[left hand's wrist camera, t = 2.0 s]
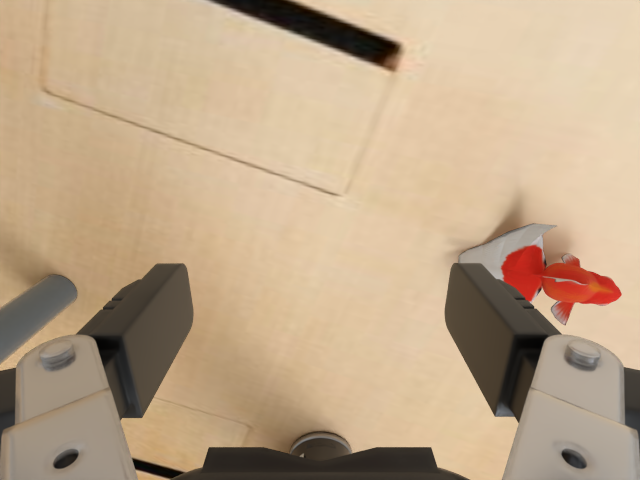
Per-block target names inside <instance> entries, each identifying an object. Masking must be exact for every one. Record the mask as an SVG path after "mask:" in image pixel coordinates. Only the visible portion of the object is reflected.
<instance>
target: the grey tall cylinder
mask: <svg viewBox="0 0 640 480" xmlns="http://www.w3.org/2000/svg"><path fill="white" fill-rule="evenodd" d="M76 298H77V290H76V288H75V286H74V284H73V283H72V282H71V281H70V280H68V279H67V278H65V277H63V276H60V275H49V276H46V277H45V278H43V279H42V280H40V281H39V282H37V283H36V284H34V285H33V286H31V287H30V288H28V289H27V290H25V291H24V292H23V293H21V294H20V295H18V296H17V297H15V298H14V299H12V300H11V301H9V302H8V303H6V304H5V305H3V306H2V307H0V364H2V363H3V362H4V361H5V360H6V359H8V358H9V357H10V356H11V355H12V354H13V353H15V352H16V351H17V350H18V349H19V348H20V347H22V346H23V345H24V344H25V343H26V342H28V341H29V340H30V339H31V338H32V337H33V336H35V335H36V334H37V333H38V332H39V331H40V330H42V329H43V328H44V327H45V326H46V325H47V324H49V323H50V322H51V321H52V320H53V319H55V318H56V317H57V316H58V315H59V314H60V313H62V312H63V311H64V310H65V309H66V308H67V307H69V306H70V305H71V304H72V303H73V302H74V301H75V300H76Z"/></svg>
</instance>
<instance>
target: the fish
mask: <svg viewBox="0 0 640 480" xmlns="http://www.w3.org/2000/svg"><path fill="white" fill-rule="evenodd" d="M553 227H556V226H555V225H544V224H530V225H527V226H524V227H521V228H518V229H515V230H512V231H509V232H507V233H505V234H503V235H501V236H499V237H497V238H495V239H493V240H491V241H489V242H487V243H486V244H484V245H481V246H477V247H474V248H472V249H469V250H467V251H465V252H463V253H462V254H460V255H459V259H458V263H481V264H482V265H483V266H484V267H485V268H486V269H487V270H488V271H489V272H490V273H491V274H492V275H493V276H494V277H495V278H496V279H500V280H502V281H504V282H506V283H508V284H509V285H511V286H513V287H515V288H516V289H517V290H518V291H519V292H520V293H521V294H522V295H523V296H524V297H525V299H526V300H528V301H529V302H530V303H532V302H533V300H534V299H535V298H536V296H537V295H538V293H539V292H540V291H541V289H542V287H543V290H544V292H545V293H546V294H547V295H548V296H549V297H551V298H553V299H555V300H557V301H558V302H556V303H555V304H554V305H553V306H552V307H551V311H552V313H553V315H554V316H555V318H556V319H557V320H558V321H559V322H561V323H562V324H564V325H566V322H567V321H568V318H569V315H570V313H571V310H572V307H573V305H574V303H575V302H579V303H582V304H589V303H592V304H597V305H600V306H605V305H608V304H609V303H611V302H613V301H616V300H617V299H618V298H619V297H620V296H621V295H622V294H621V292H620V289H619V288H618V287H617V286H616V285H615V283H614V282H613V280H612V279H611V278H609V277H607V276H600V275H598V274H596V273H594V272H590V271H586V270H584V269H583V268H580V261H579V259H578V258H576V257H574V256H573V255H571V254H565V255H564V256H562V260H563V262H564V263H555V264H552V265H550V266H548V267H547V268H546V269H545V267H546V260H545V256H544V252H543V237H542V235H543V234H544V233H545V232H547V231H548V230H550V229H552V228H553Z"/></svg>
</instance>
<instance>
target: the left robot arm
mask: <svg viewBox="0 0 640 480" xmlns="http://www.w3.org/2000/svg"><path fill="white" fill-rule="evenodd" d="M445 321H446V326H447V328H448V330H449V332H450V334H451V336H452V338H453V340H454V342H455V343H456V345H457V347H458V349H459V351H460V353H461V354H462V356H463V358H464V360H465V362H466V364H467V366H468V367H469V369H470V371H471V373H472V375H473V377H474V378H475V380H476V382H477V384H478V386H479V388H480V390H481V391H482V393H483V395H484V397H485V399H486V401H487V403H488V404H489V406H490V408H491V410H492V412H493V414H494V415H495V417H515V418H516V419H517V421H518V423H519V425H518V428H517V431H516V435H515V438H514V441H513V445H512V448H511V451H510V455H509V458H508V461H507V465H506V468H505V471H504V474H503V478H502V480H640V370H635V369H630V368H625V367H623V364H622V362H621V361H620V360H619V358H618V357H617V356H616V355H615V354H613V353H612V352H611V351H609V350H608V349H606V348H605V347H603V346H601V345H599V344H597V343H595V342H593V341H590V340H587V339H584V338H581V337H577V336H572V335H562V334H561V333H560V332H559V331H558V330H557V329H556V328H555V327H554V326H553V325H552V324H551V323H550V322H549V321H548V320H547V319H546V318H545V317H544V316H543V315H542V314H541V313H540V312H539V311H538V310H537V309H534V306H533V305H532V304H531V303H530V302H529V301H528V300H526V299H525V297H524V296H523V295H522V294H521V293H520V292H519V291H518V290H517V289H516V288H515V287H513V286H511V285H509V284H508V283H506V282H504V281H502V280H500V279H496V278H495V277H494V276H493V275H492V274H491V273H490V272H489V271H488V270H487V269H486V268H485V267H484V266H483V265H482V264H481V263H454V264H453V265H452V268H451V271H450V278H449V284H448V291H447V298H446V304H445ZM192 322H193V305H192V298H191V291H190V285H189V278H188V272H187V268H186V266H185V265H184V264H156V265H155V266H154V267H153V268H152V269H151V270H150V271H149V272H148V273H147V274H146V275H145V276H144V277H143V278H142V279H141V280H137V281H135V282H133V283H131V284H129V285H128V286H126V287H124V288H122V289H121V290H120V291H119V292H118V293H117V294H116V295H115V296H114V297H113V298H112V301H109V302H108V303H107V304H106V305H105V306H104V307H103V310H100V311H99V312H98V313H97V314H96V315H95V316H94V317H93V318H92V319H91V320H90V321H89V322H88V323H87V324H86V325H85V326H84V327H83V328H82V329H81V330H80V331H79V332H78V333H77V334H76V335H68V336H63V337H59V338H56V339H53V340H50V341H47V342H45V343H43V344H41V345H39V346H37V347H35V348H34V349H32V350H31V351H29V352H28V353H27V354H25V355H24V356H23V357H22V358H21V360H20V361H19V362H18V364H17V367H16V368H13V369H8V370H3V371H0V480H138V478H137V474H136V471H135V468H134V465H133V461H132V458H131V455H130V451H129V448H128V445H127V441H126V438H125V435H124V432H123V428H122V425H121V422H120V420H121V419H122V418H142V417H143V415H144V413H145V412H146V410H147V408H148V406H149V404H150V402H151V401H152V399H153V397H154V395H155V393H156V391H157V390H158V388H159V386H160V384H161V382H162V381H163V379H164V377H165V375H166V373H167V371H168V370H169V368H170V366H171V364H172V362H173V360H174V359H175V357H176V355H177V353H178V351H179V349H180V348H181V346H182V344H183V342H184V340H185V338H186V337H187V335H188V333H189V331H190V329H191V326H192ZM171 480H469V479H467V478H465V477H463V476H461V475H459V474H456V473H454V472H451V471H448V470H445V469H442V468H438V467H437V465H436V462H435V458H434V455H433V452H432V449H431V447H376V448H372V449H368V450H364V451H360V452H356V453H352V450H351V447H350V446H349V444H348V443H347V442H346V441H345V440H344V439H342V438H341V437H339V436H337V435H334V434H331V433H324V432H318V433H311V434H308V435H305V436H303V437H301V438H299V439H298V440H297V441H296V442H295V443H294V444H293V445H292V447H291V449H290V454H288V453H284V452H280V451H276V450H272V449H268V448H264V447H209V449H208V452H207V455H206V458H205V462H204V465H203V467H202V468H198V469H195V470H192V471H189V472H186V473H184V474H181V475H179V476H177V477H175V478H173V479H171Z"/></svg>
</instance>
